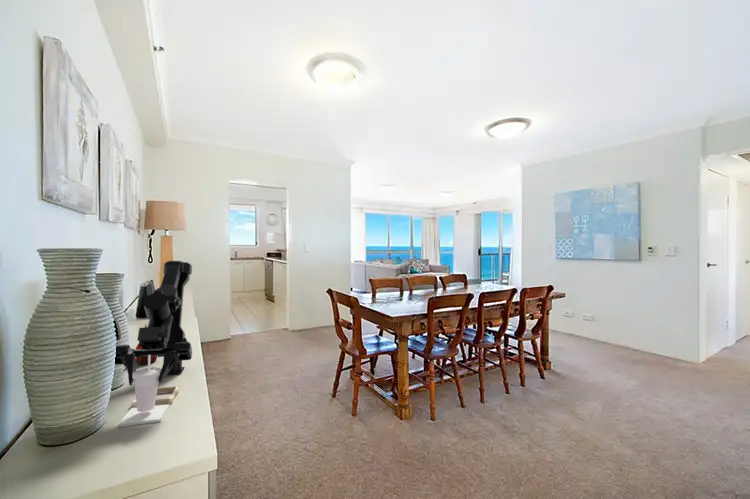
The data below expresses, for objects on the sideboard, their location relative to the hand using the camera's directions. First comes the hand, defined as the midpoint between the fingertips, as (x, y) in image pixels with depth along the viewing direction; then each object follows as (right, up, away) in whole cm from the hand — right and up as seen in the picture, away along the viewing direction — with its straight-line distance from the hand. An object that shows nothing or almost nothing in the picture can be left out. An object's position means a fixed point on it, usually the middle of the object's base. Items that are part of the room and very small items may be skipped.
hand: (145, 383), depth 88 cm
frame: (-4, -9, +11) cm, 15 cm away
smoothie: (-1, -7, +1) cm, 7 cm away
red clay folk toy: (-28, -9, +42) cm, 52 cm away
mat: (-1, -9, +1) cm, 9 cm away
